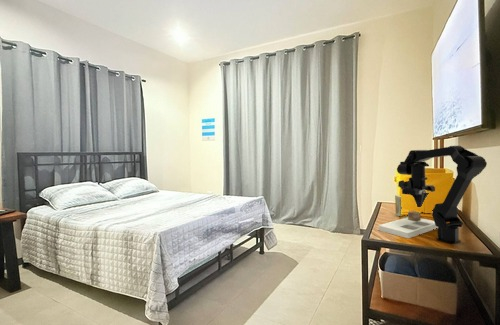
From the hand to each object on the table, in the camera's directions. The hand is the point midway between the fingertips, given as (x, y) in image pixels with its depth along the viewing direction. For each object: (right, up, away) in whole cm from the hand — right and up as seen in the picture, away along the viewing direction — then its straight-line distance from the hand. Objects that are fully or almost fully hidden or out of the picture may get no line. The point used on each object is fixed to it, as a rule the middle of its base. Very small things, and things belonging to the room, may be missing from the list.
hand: (419, 207), depth 124 cm
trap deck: (-2, -12, +4) cm, 12 cm away
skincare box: (+8, -10, +27) cm, 30 cm away
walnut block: (+4, -9, +10) cm, 14 cm away
